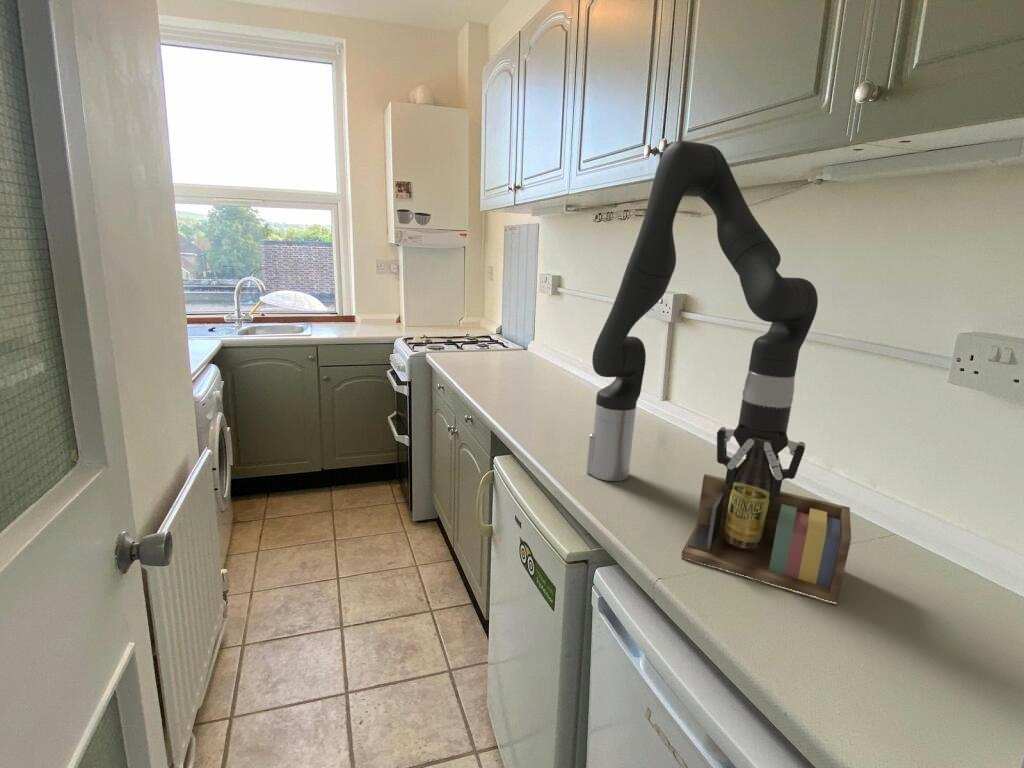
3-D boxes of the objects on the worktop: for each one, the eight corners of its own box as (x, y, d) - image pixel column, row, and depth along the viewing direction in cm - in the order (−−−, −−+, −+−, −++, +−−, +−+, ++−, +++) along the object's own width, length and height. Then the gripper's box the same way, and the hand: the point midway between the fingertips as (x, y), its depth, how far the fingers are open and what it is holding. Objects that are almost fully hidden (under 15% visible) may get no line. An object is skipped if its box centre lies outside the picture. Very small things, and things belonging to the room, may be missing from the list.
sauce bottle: (718, 543, 99) (734, 436, 94) (727, 530, 104) (742, 427, 99) (758, 556, 95) (776, 445, 91) (765, 541, 100) (783, 435, 96)
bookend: (687, 546, 100) (693, 502, 98) (698, 526, 108) (704, 485, 106) (709, 552, 98) (716, 508, 96) (718, 532, 106) (725, 490, 104)
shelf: (681, 558, 99) (689, 497, 96) (696, 528, 110) (704, 474, 107) (836, 605, 88) (851, 538, 85) (836, 567, 99) (849, 507, 96)
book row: (768, 570, 94) (777, 520, 92) (774, 547, 101) (782, 501, 99) (830, 588, 89) (840, 536, 87) (830, 562, 97) (840, 515, 95)
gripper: (816, 402, 93) (798, 496, 97) (725, 388, 100) (712, 476, 104) (814, 412, 87) (795, 512, 91) (717, 396, 94) (703, 489, 98)
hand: (751, 492), depth 97 cm, fingers closed on sauce bottle, 6 cm apart
